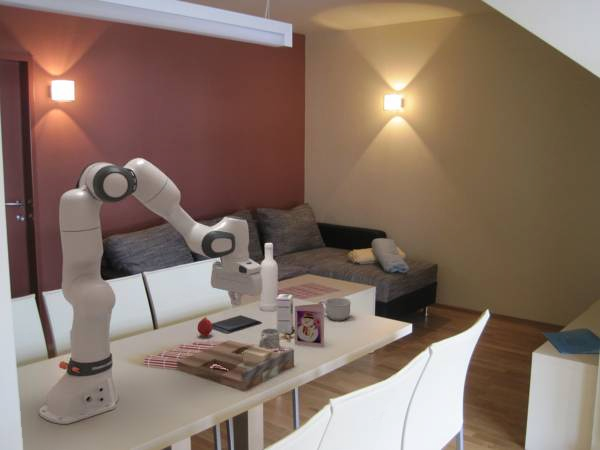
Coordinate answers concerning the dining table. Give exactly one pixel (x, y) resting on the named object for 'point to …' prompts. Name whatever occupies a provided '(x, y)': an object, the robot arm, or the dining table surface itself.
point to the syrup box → (285, 313)
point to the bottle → (269, 280)
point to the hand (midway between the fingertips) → (236, 304)
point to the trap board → (234, 365)
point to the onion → (204, 327)
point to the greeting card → (309, 325)
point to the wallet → (234, 324)
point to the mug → (269, 339)
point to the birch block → (256, 356)
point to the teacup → (337, 308)
